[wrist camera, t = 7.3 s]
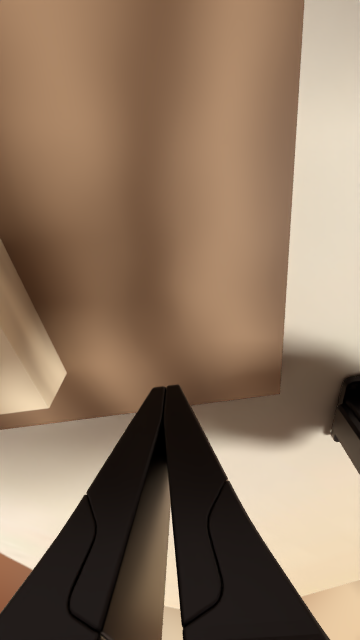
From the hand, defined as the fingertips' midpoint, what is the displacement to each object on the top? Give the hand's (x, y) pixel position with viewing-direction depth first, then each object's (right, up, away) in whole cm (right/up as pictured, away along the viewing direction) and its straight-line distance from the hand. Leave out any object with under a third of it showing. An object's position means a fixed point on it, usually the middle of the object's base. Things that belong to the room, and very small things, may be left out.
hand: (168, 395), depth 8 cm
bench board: (-7, +4, +5) cm, 10 cm away
